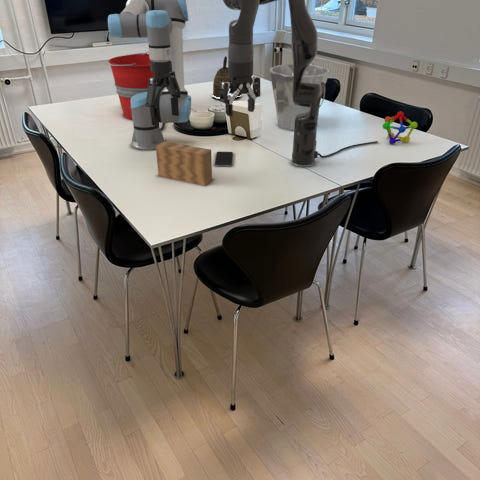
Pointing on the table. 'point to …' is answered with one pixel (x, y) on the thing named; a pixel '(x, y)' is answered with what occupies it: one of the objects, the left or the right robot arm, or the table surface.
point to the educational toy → (398, 128)
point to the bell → (221, 78)
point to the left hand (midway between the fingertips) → (165, 120)
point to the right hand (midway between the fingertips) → (240, 113)
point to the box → (184, 163)
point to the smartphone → (224, 159)
